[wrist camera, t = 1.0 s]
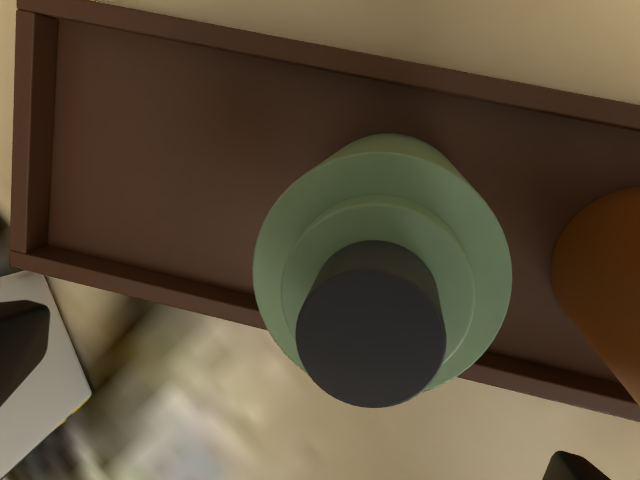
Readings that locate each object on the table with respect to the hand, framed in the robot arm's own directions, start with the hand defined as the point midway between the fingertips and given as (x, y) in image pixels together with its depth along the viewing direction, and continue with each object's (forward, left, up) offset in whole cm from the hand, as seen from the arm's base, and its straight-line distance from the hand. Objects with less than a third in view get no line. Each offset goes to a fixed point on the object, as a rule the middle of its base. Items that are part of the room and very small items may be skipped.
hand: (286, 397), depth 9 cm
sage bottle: (+1, -1, -14) cm, 14 cm away
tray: (+1, -1, -14) cm, 14 cm away
